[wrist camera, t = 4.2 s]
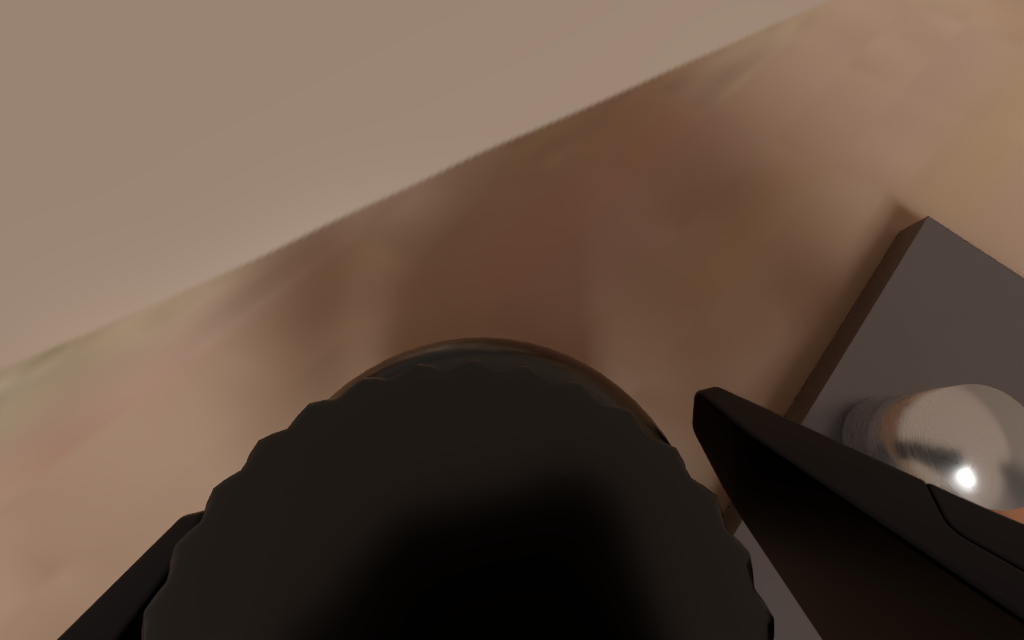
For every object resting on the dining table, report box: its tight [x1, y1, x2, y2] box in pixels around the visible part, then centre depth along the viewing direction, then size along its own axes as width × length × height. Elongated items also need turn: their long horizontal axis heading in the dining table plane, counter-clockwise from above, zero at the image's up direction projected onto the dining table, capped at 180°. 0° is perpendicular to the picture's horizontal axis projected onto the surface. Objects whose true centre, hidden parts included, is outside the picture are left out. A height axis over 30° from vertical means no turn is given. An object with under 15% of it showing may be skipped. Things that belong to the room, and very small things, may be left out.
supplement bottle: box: [141, 338, 774, 640], centre depth 9 cm, size 7×7×12 cm
